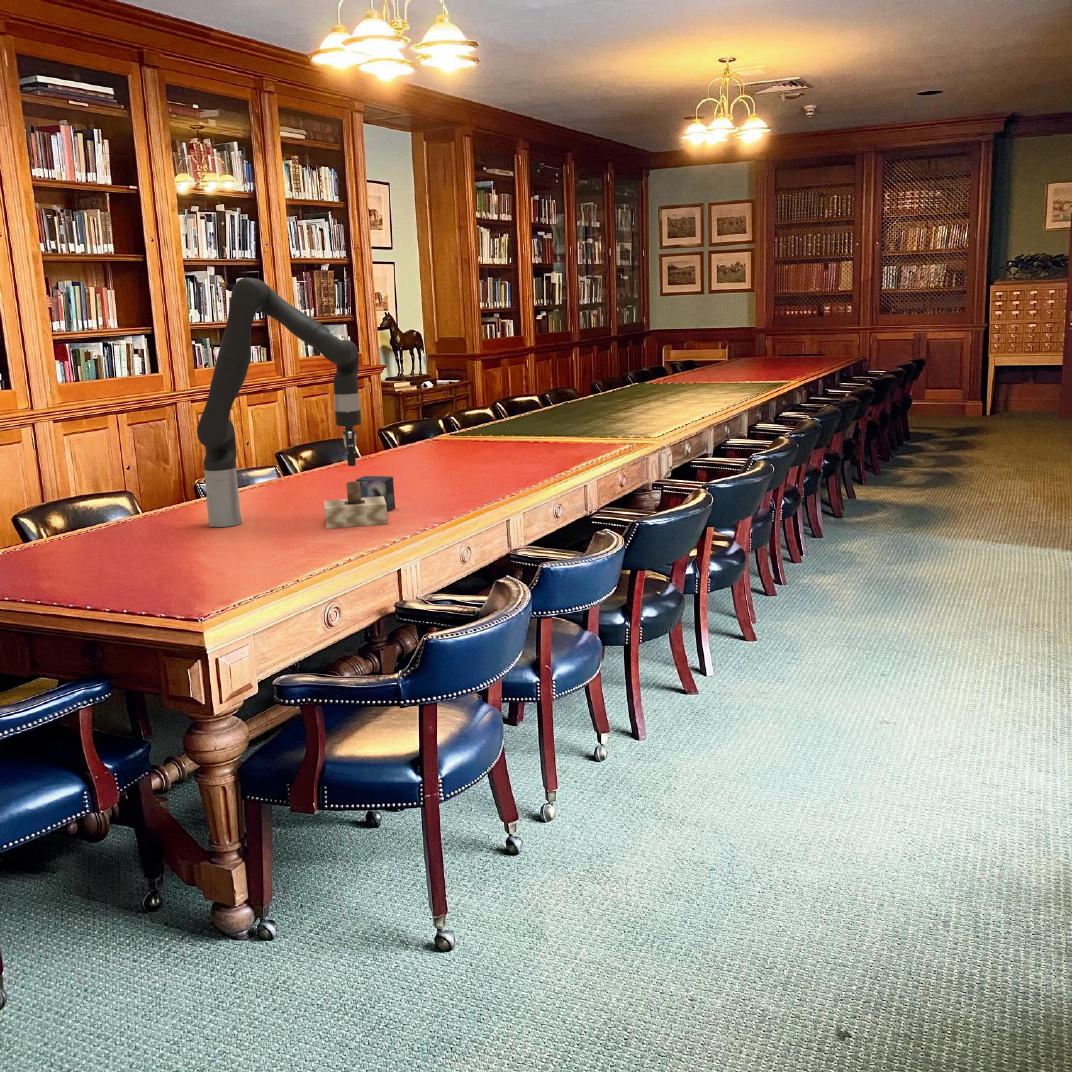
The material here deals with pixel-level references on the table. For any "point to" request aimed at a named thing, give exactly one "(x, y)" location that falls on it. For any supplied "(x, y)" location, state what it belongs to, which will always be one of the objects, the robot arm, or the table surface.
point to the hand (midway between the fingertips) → (351, 463)
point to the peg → (353, 493)
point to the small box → (378, 489)
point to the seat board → (355, 513)
